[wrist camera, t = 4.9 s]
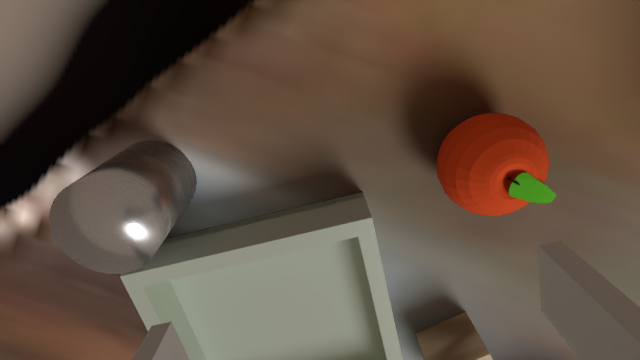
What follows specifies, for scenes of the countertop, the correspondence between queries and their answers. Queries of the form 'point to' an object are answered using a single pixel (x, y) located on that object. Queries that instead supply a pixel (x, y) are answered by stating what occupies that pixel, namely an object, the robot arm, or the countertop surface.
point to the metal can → (123, 207)
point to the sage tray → (274, 287)
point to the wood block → (452, 341)
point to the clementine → (494, 165)
